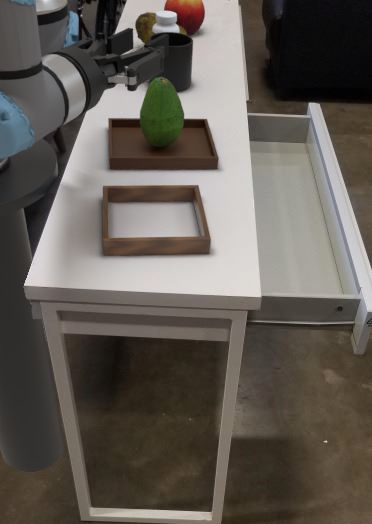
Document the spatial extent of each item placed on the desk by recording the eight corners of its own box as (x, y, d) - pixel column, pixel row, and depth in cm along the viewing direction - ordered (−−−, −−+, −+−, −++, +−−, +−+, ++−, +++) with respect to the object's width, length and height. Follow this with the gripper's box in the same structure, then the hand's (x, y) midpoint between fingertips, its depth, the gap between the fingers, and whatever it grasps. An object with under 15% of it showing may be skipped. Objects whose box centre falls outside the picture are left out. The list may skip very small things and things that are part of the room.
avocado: (139, 154, 104) (138, 84, 96) (140, 135, 110) (139, 67, 101) (183, 156, 105) (186, 86, 96) (182, 136, 110) (185, 69, 101)
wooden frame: (104, 255, 84) (103, 240, 82) (103, 199, 95) (102, 185, 93) (209, 253, 86) (211, 239, 84) (197, 198, 96) (198, 184, 94)
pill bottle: (179, 72, 134) (181, 18, 126) (152, 72, 133) (152, 17, 125) (177, 63, 138) (179, 9, 130) (151, 62, 137) (151, 9, 129)
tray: (110, 169, 101) (109, 158, 100) (108, 128, 112) (108, 118, 111) (217, 169, 103) (218, 157, 102) (206, 129, 114) (207, 118, 113)
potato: (188, 56, 141) (189, 19, 136) (135, 54, 140) (135, 17, 134) (186, 44, 147) (187, 8, 141) (135, 43, 146) (134, 6, 140)
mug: (137, 75, 132) (136, 30, 125) (189, 76, 132) (191, 32, 126) (137, 91, 125) (136, 45, 119) (192, 93, 126) (194, 47, 119)
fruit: (155, 28, 155) (156, -16, 147) (189, 23, 159) (191, -20, 152) (177, 40, 149) (178, -5, 141) (211, 35, 153) (215, -10, 146)
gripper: (7, 104, 77) (98, 58, 92) (128, 132, 72) (202, 78, 87) (-4, 41, 72) (94, 3, 87) (125, 66, 67) (205, 21, 82)
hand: (148, 41), depth 87 cm, fingers open, 5 cm apart
